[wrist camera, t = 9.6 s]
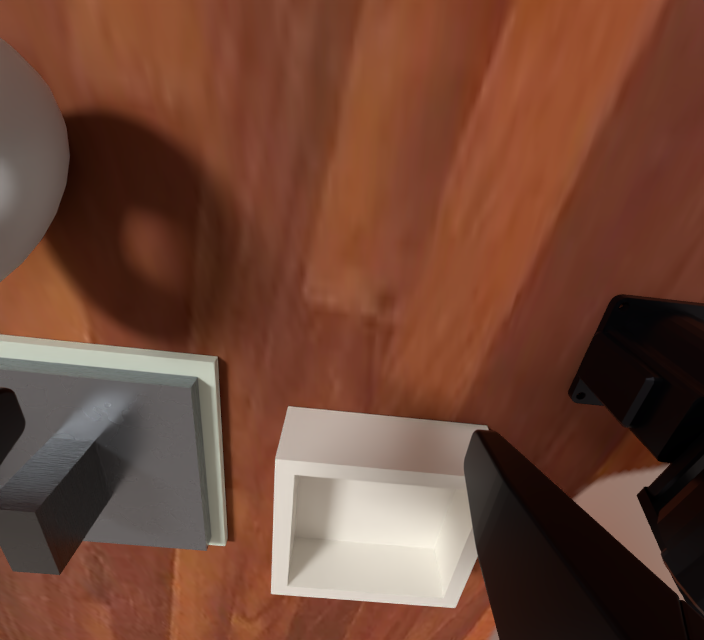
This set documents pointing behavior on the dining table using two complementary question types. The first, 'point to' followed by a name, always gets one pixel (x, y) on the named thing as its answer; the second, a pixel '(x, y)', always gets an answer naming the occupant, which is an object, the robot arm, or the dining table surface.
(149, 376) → the lid
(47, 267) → the dining table surface
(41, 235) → the donut
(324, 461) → the dish
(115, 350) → the mat
